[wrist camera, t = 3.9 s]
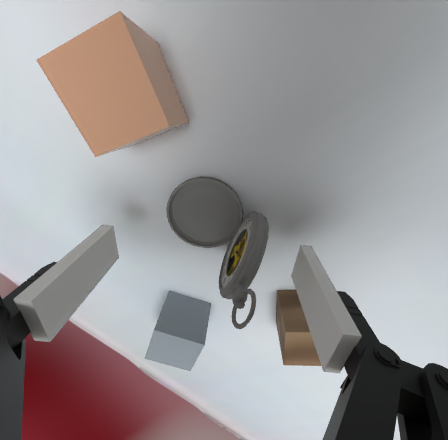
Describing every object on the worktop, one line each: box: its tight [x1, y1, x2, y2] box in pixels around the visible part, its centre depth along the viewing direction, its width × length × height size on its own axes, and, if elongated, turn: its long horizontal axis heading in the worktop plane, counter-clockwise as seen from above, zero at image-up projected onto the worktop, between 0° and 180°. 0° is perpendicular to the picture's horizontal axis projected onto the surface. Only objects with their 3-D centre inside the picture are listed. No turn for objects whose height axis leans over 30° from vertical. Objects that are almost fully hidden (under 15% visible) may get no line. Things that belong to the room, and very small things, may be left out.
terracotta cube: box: [37, 11, 189, 157], centre depth 13 cm, size 5×5×5 cm
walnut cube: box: [276, 290, 321, 366], centre depth 22 cm, size 5×5×5 cm
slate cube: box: [145, 291, 211, 371], centre depth 23 cm, size 5×5×5 cm
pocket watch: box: [167, 177, 269, 329], centre depth 15 cm, size 8×8×10 cm
